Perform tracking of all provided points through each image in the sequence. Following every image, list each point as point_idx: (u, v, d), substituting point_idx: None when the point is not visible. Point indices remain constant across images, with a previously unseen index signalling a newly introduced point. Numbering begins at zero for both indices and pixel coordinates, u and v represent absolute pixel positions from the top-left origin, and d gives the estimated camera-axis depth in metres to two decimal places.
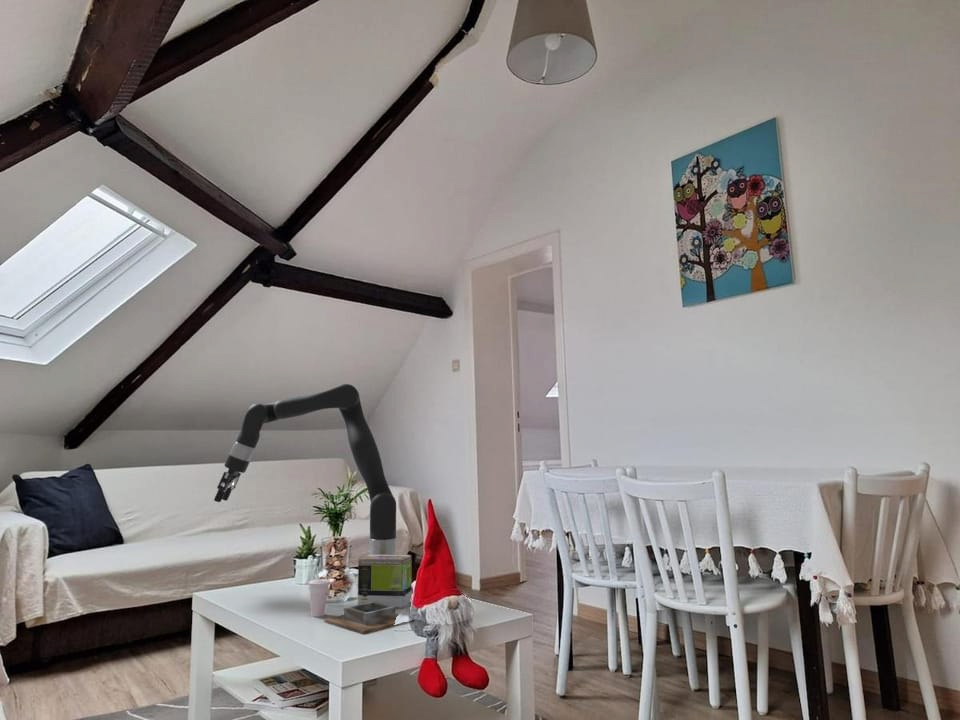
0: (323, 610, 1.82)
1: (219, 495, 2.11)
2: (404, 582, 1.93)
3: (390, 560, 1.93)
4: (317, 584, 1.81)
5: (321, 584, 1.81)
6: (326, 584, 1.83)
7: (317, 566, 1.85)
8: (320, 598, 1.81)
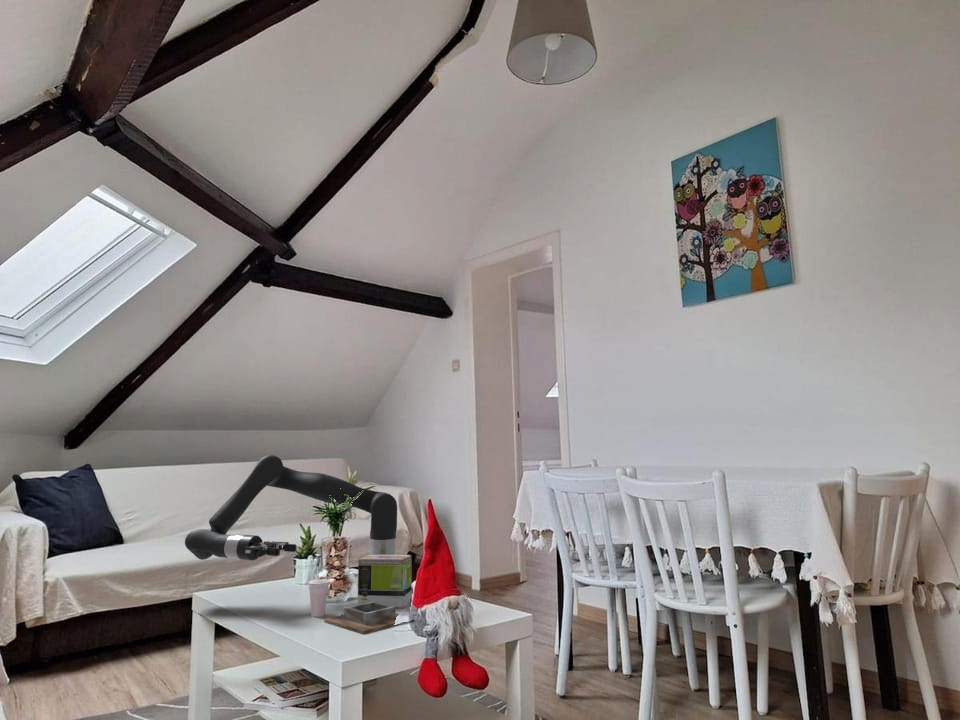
0: (323, 610, 1.82)
1: (270, 551, 1.84)
2: (404, 582, 1.93)
3: (390, 560, 1.93)
4: (317, 584, 1.81)
5: (321, 584, 1.81)
6: (326, 584, 1.83)
7: (317, 566, 1.85)
8: (320, 598, 1.81)
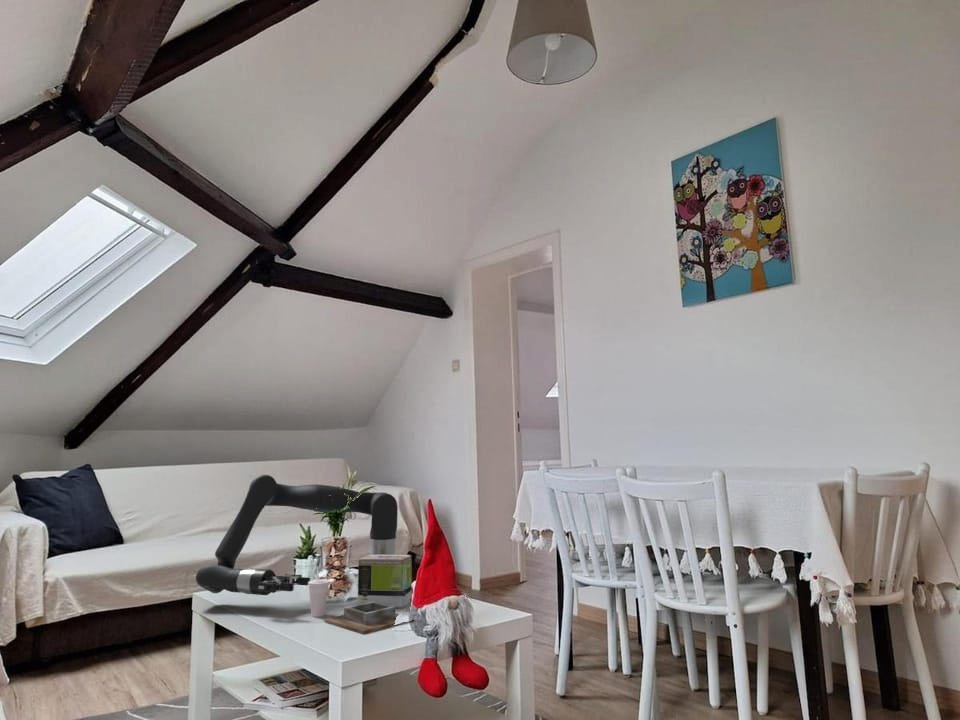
0: (323, 610, 1.82)
1: (284, 587, 1.82)
2: (404, 582, 1.93)
3: (390, 560, 1.93)
4: (317, 584, 1.81)
5: (321, 584, 1.81)
6: (326, 584, 1.83)
7: (317, 566, 1.85)
8: (320, 598, 1.81)
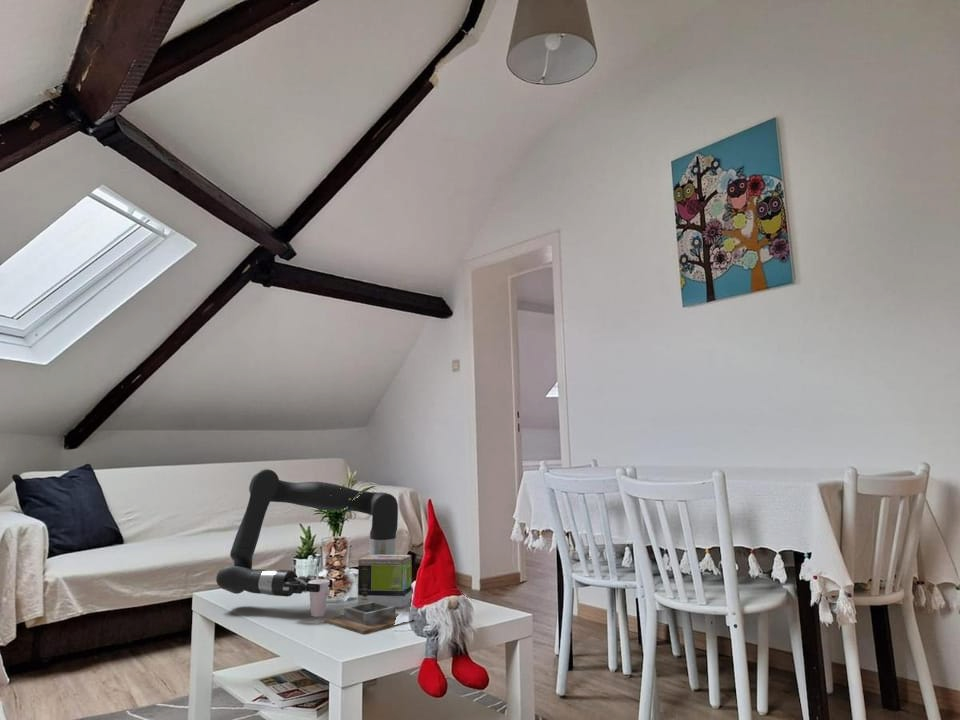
0: (323, 610, 1.82)
1: (310, 587, 1.80)
2: (404, 582, 1.93)
3: (390, 560, 1.93)
4: None
5: (321, 584, 1.81)
6: (326, 584, 1.83)
7: (317, 566, 1.85)
8: (320, 598, 1.81)
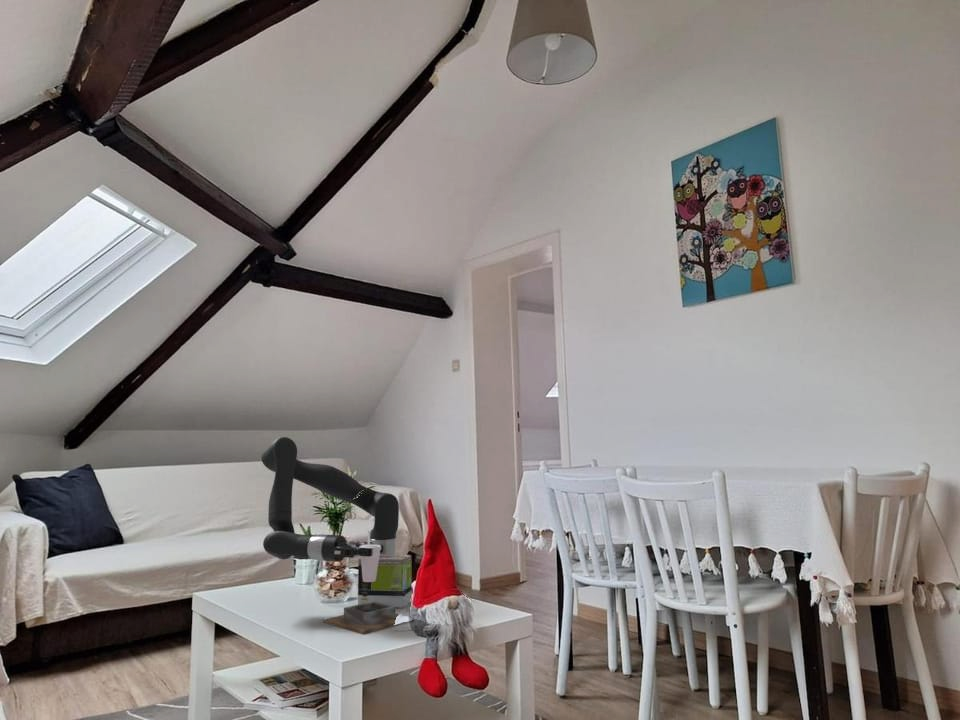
0: (375, 575, 1.77)
1: (362, 551, 1.74)
2: (404, 582, 1.93)
3: (390, 560, 1.93)
4: None
5: (373, 548, 1.76)
6: (378, 549, 1.77)
7: None
8: (372, 563, 1.76)
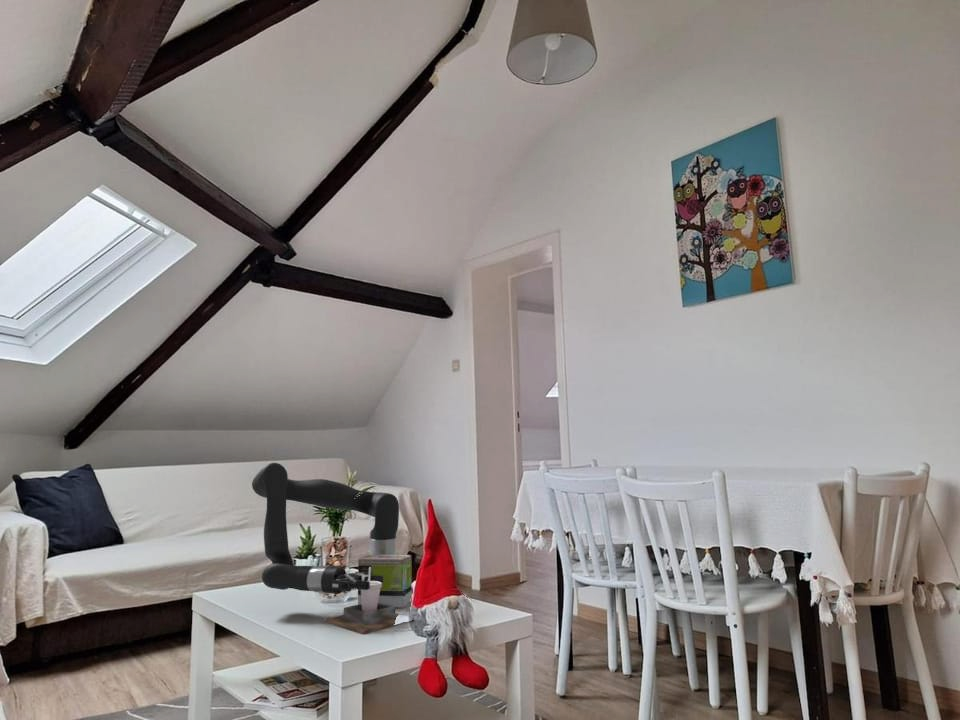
0: None
1: (359, 585, 1.72)
2: (404, 582, 1.93)
3: (390, 560, 1.93)
4: (370, 586, 1.74)
5: (374, 586, 1.75)
6: (379, 586, 1.76)
7: (369, 567, 1.78)
8: (372, 600, 1.74)
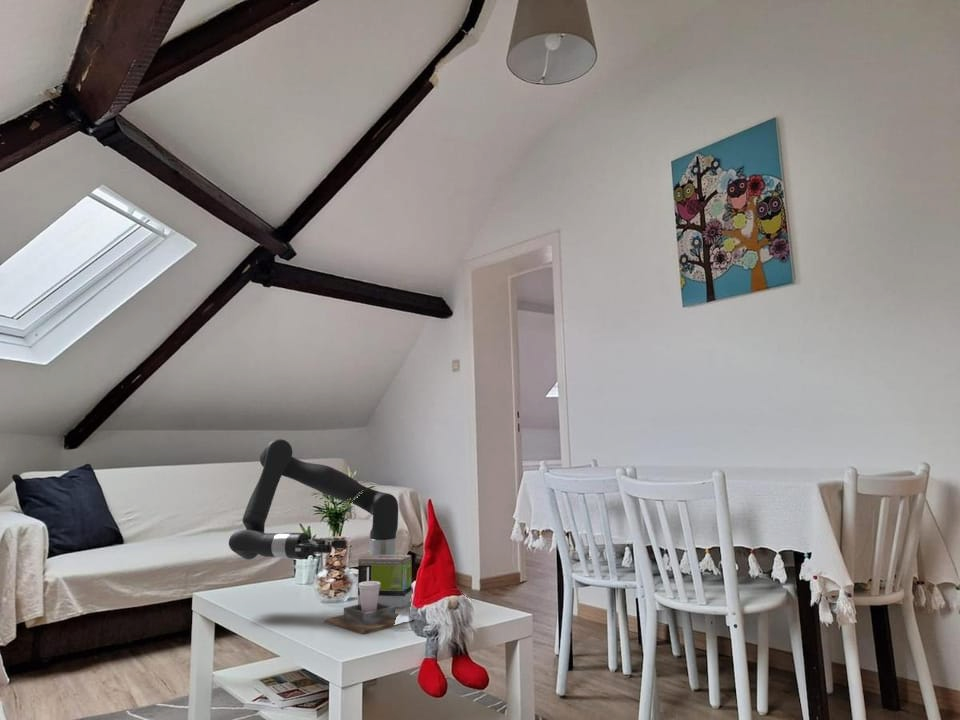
0: None
1: (321, 548, 1.78)
2: (404, 582, 1.93)
3: (390, 560, 1.93)
4: (368, 586, 1.74)
5: (372, 586, 1.75)
6: (377, 586, 1.76)
7: (367, 567, 1.78)
8: (371, 601, 1.74)
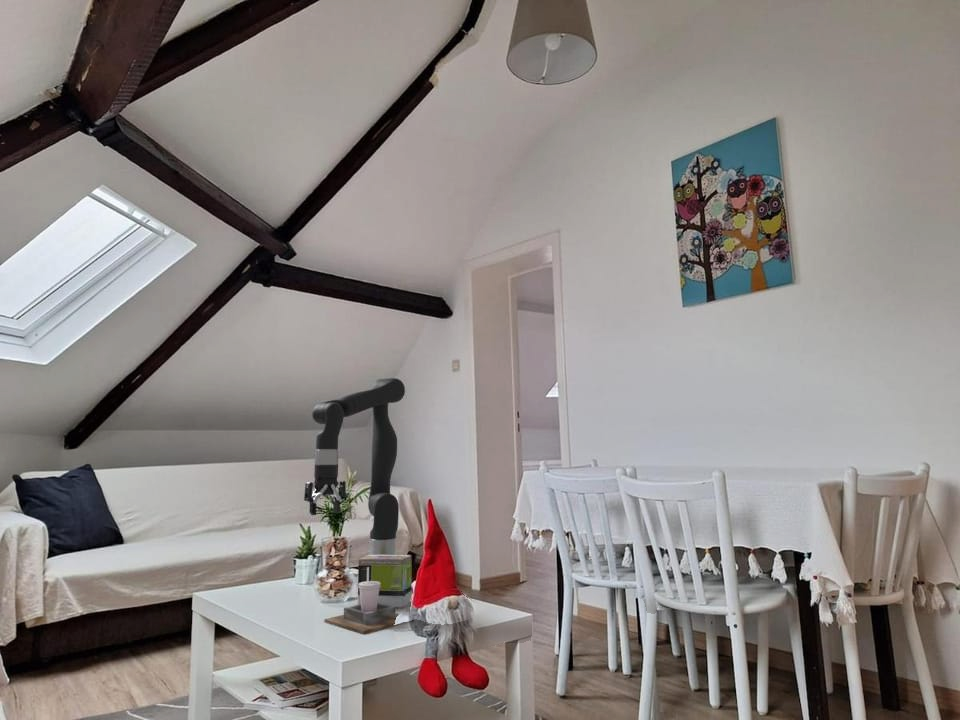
0: None
1: (311, 507, 1.96)
2: (404, 582, 1.93)
3: (390, 560, 1.93)
4: (368, 586, 1.74)
5: (372, 586, 1.75)
6: (377, 586, 1.76)
7: (367, 567, 1.78)
8: (371, 601, 1.74)
